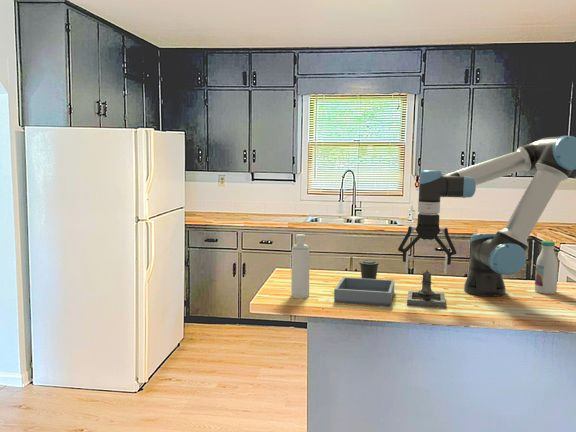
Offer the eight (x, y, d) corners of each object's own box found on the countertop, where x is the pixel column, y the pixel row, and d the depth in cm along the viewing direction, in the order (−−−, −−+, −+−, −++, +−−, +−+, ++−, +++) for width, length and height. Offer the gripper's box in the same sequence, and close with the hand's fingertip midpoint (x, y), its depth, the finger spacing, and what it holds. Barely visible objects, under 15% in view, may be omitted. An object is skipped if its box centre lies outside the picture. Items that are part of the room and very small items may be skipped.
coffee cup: (364, 281, 226) (364, 258, 225) (382, 284, 221) (382, 260, 220) (355, 285, 219) (355, 261, 218) (373, 288, 214) (373, 263, 213)
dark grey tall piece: (434, 304, 191) (436, 271, 189) (418, 303, 192) (418, 270, 190) (433, 300, 196) (434, 268, 195) (417, 299, 197) (418, 267, 196)
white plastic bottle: (297, 292, 206) (298, 228, 204) (312, 295, 203) (313, 230, 200) (287, 296, 201) (288, 230, 198) (302, 299, 197) (303, 232, 194)
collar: (444, 298, 199) (444, 293, 198) (445, 308, 186) (445, 302, 186) (408, 296, 202) (408, 290, 202) (407, 305, 189) (407, 299, 189)
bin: (394, 292, 207) (394, 280, 206) (390, 306, 187) (390, 292, 187) (342, 289, 212) (343, 277, 211) (334, 302, 192) (334, 289, 192)
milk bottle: (556, 290, 210) (559, 240, 208) (556, 295, 203) (559, 243, 201) (534, 288, 214) (537, 239, 211) (534, 293, 207) (537, 242, 204)
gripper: (392, 213, 190) (390, 271, 192) (466, 216, 184) (462, 276, 186) (393, 211, 197) (391, 267, 199) (464, 214, 191) (461, 272, 193)
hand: (425, 272), depth 193 cm, fingers open, 13 cm apart
